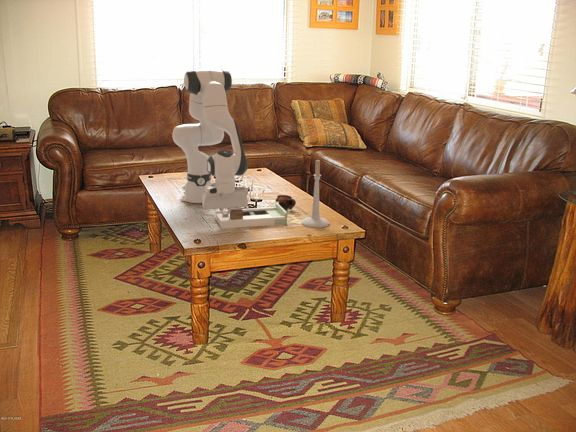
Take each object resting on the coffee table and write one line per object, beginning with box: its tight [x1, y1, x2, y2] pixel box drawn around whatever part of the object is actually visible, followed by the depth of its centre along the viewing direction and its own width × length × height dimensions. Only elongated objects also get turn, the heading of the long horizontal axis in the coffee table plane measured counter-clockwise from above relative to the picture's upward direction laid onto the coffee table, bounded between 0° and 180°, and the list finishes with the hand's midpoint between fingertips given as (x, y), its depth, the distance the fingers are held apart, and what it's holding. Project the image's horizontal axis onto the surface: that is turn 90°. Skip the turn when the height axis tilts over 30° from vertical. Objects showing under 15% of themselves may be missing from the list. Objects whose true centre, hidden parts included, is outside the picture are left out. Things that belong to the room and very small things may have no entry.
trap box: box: [214, 202, 288, 230], centre depth 284 cm, size 16×30×6 cm, turn 107°
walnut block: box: [230, 207, 243, 220], centre depth 278 cm, size 5×5×4 cm
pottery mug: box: [275, 194, 297, 212], centre depth 304 cm, size 12×9×8 cm
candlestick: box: [300, 159, 330, 229], centre depth 280 cm, size 13×13×30 cm
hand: (225, 217), depth 277 cm, fingers closed
